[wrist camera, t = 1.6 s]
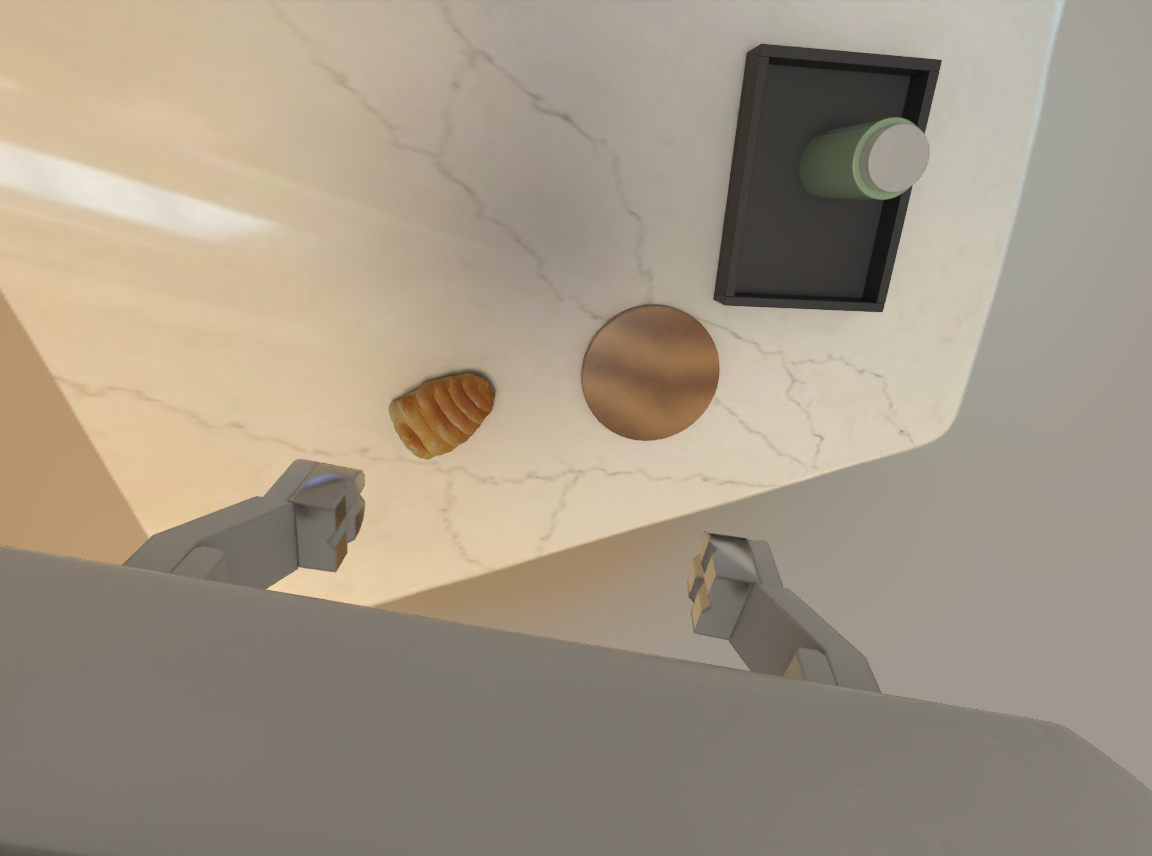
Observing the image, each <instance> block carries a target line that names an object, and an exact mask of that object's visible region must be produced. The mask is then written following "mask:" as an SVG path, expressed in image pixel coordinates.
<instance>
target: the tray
mask: <svg viewBox="0 0 1152 856" xmlns="http://www.w3.org/2000/svg"><path fill="white" fill-rule="evenodd" d="M941 62H942V60H936V59H925V58H914V57H903V56H891V55H880V54H869V53H858V52H847V51H836V50H825V49H813V48H802V47H791V46H780V45H769V44H760V45H759V46H757V47H756V48H754V49H752V50H751V51H749V52H748V53H747V57H746V64H745V72H744V79H743V87H742V94H741V101H740V109H739V116H738V124H737V131H736V138H735V146H734V153H733V161H732V168H731V175H730V183H729V190H728V198H727V205H726V212H725V220H724V227H723V235H722V242H721V249H720V257H719V264H718V272H717V279H716V286H715V294H714V300H716V301H718V302H720V303H722V304H723V305H729V306H752V307H776V308H799V309H822V310H845V311H868V312H883V309H884V303H885V301H886V297H887V292H888V288H889V284H890V280H891V275H892V271H893V267H894V263H895V258H896V254H897V250H898V245H899V241H900V237H901V233H902V228H903V224H904V220H905V215H906V211H907V207H908V203H909V198H910V194H911V190H912V186H913V185H912V186H911V187H910V188H909V189H908V190H906V191H905V192H904V193H902V194H900V195H899V196H897V197H894V198H891V199H886V200H861V199H821V198H817V197H814V196H812V195H811V194H809V193H808V192H807V191H806V189H805V188H804V187H803V185H802V183H801V180H800V176H799V163H800V158H801V155H802V153H803V151H804V149H805V147H806V146H807V144H808V143H809V142H810V141H811V140H812V139H813V138H814V137H815V136H817V135H818V134H820V133H822V132H824V131H828V130H832V129H837V128H842V127H847V126H852V125H857V124H862V123H867V122H871V121H876V120H881V119H886V118H892V117H899V118H904V119H907V120H909V121H911V122H912V123H913V124H915V125H916V126H917V127H918V128H919V129H920V130H921V131H922V132H923V133H924V134H925V130H926V126H927V121H928V117H929V113H930V109H931V104H932V100H933V96H934V92H935V87H936V83H937V79H938V74H939V70H940V66H941Z"/></svg>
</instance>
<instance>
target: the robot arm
mask: <svg viewBox="0 0 1152 856" xmlns="http://www.w3.org/2000/svg"><path fill="white" fill-rule="evenodd" d="M364 486H365V475H364V473H363V471H362V470H357V469H352V468H347V467H341V466H336V465H331V464H326V463H319V462H316V461H310V460H305V459H297V460H295V461H294V462H293V463H292V464H291V465H290V466H289V468H288V469H287V470H286V471H285V472H284V473H283V475H282V476H281V477H280V478H279V479H278V480H277V481H276V483H275V484H274V485H273V486H272V487H271V488H270V490H269V491H268V492H267V493H266V494H265V495H264V497H259V496H256V497H253V498H250V499H248V500H245V501H243V502H240V503H237V504H235V505H232V506H229V507H227V508H224V509H221V510H219V511H216V512H213V513H211V514H208V515H205V516H203V517H200V518H197V519H195V520H192V521H189V522H187V523H184V524H182V525H179V526H176V527H174V528H171V529H168V530H166V531H163V532H160V533H158V534H155V535H153V536H152V537H151V538H150V539H149V540H147V541H146V542H145V543H144V544H143V545H142V546H141V547H140V548H139V549H138V550H137V551H136V552H135V553H134V554H133V555H132V556H131V557H130V558H129V559H128V560H127V561H126V562H125V563H124V564H123V565H117V564H111V563H105V562H99V561H93V560H87V559H81V558H75V557H69V556H63V555H57V554H51V553H45V552H39V551H34V550H28V549H22V548H16V547H10V546H3V545H0V856H1152V791H1151V790H1150V789H1149V788H1148V787H1146V786H1145V785H1144V784H1143V783H1141V782H1140V781H1139V780H1138V779H1137V778H1135V777H1134V776H1133V775H1132V774H1131V773H1129V772H1128V771H1127V770H1125V769H1124V768H1123V767H1121V766H1120V765H1119V764H1117V763H1116V762H1115V761H1113V760H1112V759H1111V758H1109V757H1108V756H1107V755H1105V754H1104V753H1103V752H1101V751H1100V750H1099V749H1097V748H1096V747H1095V746H1093V745H1092V744H1091V743H1089V742H1088V741H1086V740H1085V739H1084V738H1082V737H1081V736H1079V735H1077V734H1076V733H1075V732H1073V731H1072V730H1070V729H1069V728H1066V727H1064V726H1061V725H1059V724H1056V723H1052V722H1049V721H1043V720H1038V719H1031V718H1026V717H1020V716H1014V715H1008V714H1002V713H996V712H990V711H984V710H978V709H972V708H966V707H960V706H954V705H948V704H942V703H936V702H930V701H924V700H917V699H912V698H906V697H900V696H893V695H888V694H882V693H881V691H880V689H879V686H878V684H877V681H876V679H875V677H874V675H873V672H872V670H871V668H870V665H869V663H868V661H867V659H866V657H864V655H863V654H862V653H860V652H859V651H858V650H857V649H856V648H855V647H854V646H853V645H852V644H850V643H849V642H848V641H847V640H846V639H845V638H844V637H843V636H841V635H840V634H839V633H838V632H837V631H836V630H835V629H834V628H832V627H831V626H830V625H829V624H828V623H827V622H826V621H825V620H824V619H822V618H821V617H820V616H819V615H818V614H817V613H816V612H815V611H813V609H811V608H810V607H809V606H808V605H807V604H806V603H805V602H804V601H803V600H801V599H800V598H799V597H798V596H797V595H795V593H793V592H792V591H791V590H790V589H787V588H784V587H783V585H782V582H781V579H780V576H779V573H778V570H777V567H776V564H775V561H774V558H773V555H772V553H771V550H770V547H769V544H768V543H767V542H766V541H764V540H757V539H750V538H740V537H734V536H728V535H722V534H716V533H710V532H705V531H704V532H703V534H702V536H701V538H700V540H699V543H698V546H699V553H700V554H699V555H697V556H696V557H694V558H693V560H692V563H691V566H690V570H689V576H688V595H689V598H690V599H691V600H692V601H693V602H694V604H693V607H692V610H691V616H692V623H693V629H694V633H695V634H700V635H705V636H710V637H715V638H721V639H725V640H730V641H729V642H730V644H731V645H732V646H733V648H734V649H735V650H736V652H737V653H738V654H739V656H740V657H741V659H742V660H743V661H744V663H745V664H746V665H747V666H748V668H749V669H750V671H745V670H740V669H734V668H728V667H722V666H716V665H711V664H705V663H698V662H693V661H687V660H681V659H674V658H668V657H663V656H657V655H651V654H645V653H639V652H633V651H627V650H621V649H615V648H609V647H603V646H598V645H592V644H586V643H580V642H574V641H567V640H562V639H555V638H550V637H544V636H538V635H532V634H526V633H520V632H514V631H508V630H503V629H497V628H491V627H485V626H479V625H473V624H467V623H461V622H455V621H449V620H443V619H437V618H431V617H425V616H419V615H414V614H408V613H402V612H396V611H389V610H383V609H378V608H372V607H366V606H360V605H354V604H348V603H342V602H336V601H331V600H325V599H319V598H313V597H307V596H301V595H295V594H289V593H283V592H277V591H271V590H265V589H267V588H268V587H270V586H272V585H273V584H275V583H276V582H278V581H279V580H281V579H283V578H284V577H286V576H287V575H289V574H290V573H292V572H294V571H295V570H297V569H298V567H302V568H309V569H316V570H323V571H330V572H336V571H337V569H338V568H339V566H340V564H341V563H342V561H343V559H344V557H345V556H346V554H347V543H349V542H351V541H353V540H355V538H356V536H357V535H358V533H359V531H360V528H361V525H362V522H363V517H364V511H365V501H364V499H363V498H362V497H361V495H360V493H361V491H362V490H363V488H364Z"/></svg>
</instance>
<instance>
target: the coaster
mask: <svg viewBox="0 0 1152 856" xmlns="http://www.w3.org/2000/svg"><path fill="white" fill-rule="evenodd" d="M718 379H719V359H718V353H717V350H716V347H715V344H714V342H713V340H712V338H711V336H710V335H709V333H708V332H707V331H706V329H705V328H704V327H703V326H702V325H701V324H700V323H699V322H698V321H696V320H695V319H694V318H693V317H691V316H690V315H688V314H686V313H684V312H683V311H680V310H678V309H675V308H671V307H668V306H660V305H647V306H641V307H636V308H633V309H629V310H627V311H625V312H623V313H621V314H619V315H617V316H616V317H614V318H612V319H611V320H610V321H609V322H607V323H606V324H605V325H604V326H603V327H602V328H601V329H600V330H599V331H598V332H597V334H596V335H595V336H594V338H593V339H592V341H591V343H590V344H589V346H588V349H587V351H586V353H585V357H584V360H583V365H582V387H583V392H584V395H585V399H586V401H587V404H588V406H589V408H590V410H591V411H592V413H593V414H594V416H595V417H596V418H597V419H598V420H599V422H601V423H602V424H603V425H604V426H605V427H606V428H608V429H609V430H611V431H612V432H614V433H616V434H618V435H620V436H623V437H626V438H629V439H634V440H643V441H647V440H658V439H663V438H666V437H670V436H672V435H675V434H677V433H679V432H681V431H683V430H684V429H686V428H687V427H689V426H690V425H692V424H693V423H694V422H695V421H696V420H697V419H698V418H699V417H700V416H701V415H702V414H703V413H704V411H705V410H706V409H707V407H708V406H709V404H710V402H711V400H712V398H713V396H714V394H715V391H716V388H717V384H718Z"/></svg>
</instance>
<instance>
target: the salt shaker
mask: <svg viewBox="0 0 1152 856" xmlns="http://www.w3.org/2000/svg"><path fill="white" fill-rule="evenodd" d="M928 159H929V144H928V140H927V138H926V136H925V134H924V133H923V132H922V131H921V130H920V129H919V128H918V127H917V126H916V125H915V124H913V123H912V122H911V121H909V120H907V119H904V118H899V117H892V118H886V119H881V120H876V121H871V122H867V123H862V124H857V125H852V126H847V127H842V128H837V129H832V130H828V131H824V132H822V133H820V134H818V135H817V136H815V137H814V138H813V139H812V140H811V141H810V142H809V143H808V144H807V146H806V147H805V149H804V151H803V153H802V155H801V158H800V163H799V176H800V180H801V183H802V185H803V187H804V188H805V189H806V191H807V192H808V193H809V194H811V195H812V196H814V197H817V198H821V199H861V200H886V199H891V198H894V197H897V196H899V195H900V194H902V193H904V192H905V191H906V190H908V189H909V188H910V187H911V186H912V185H913V184H914V183H915V182H917V181H918V179H919V178H920V177H921V176H922V174H923V172H924V171H925V169H926V166H927V163H928Z"/></svg>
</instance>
